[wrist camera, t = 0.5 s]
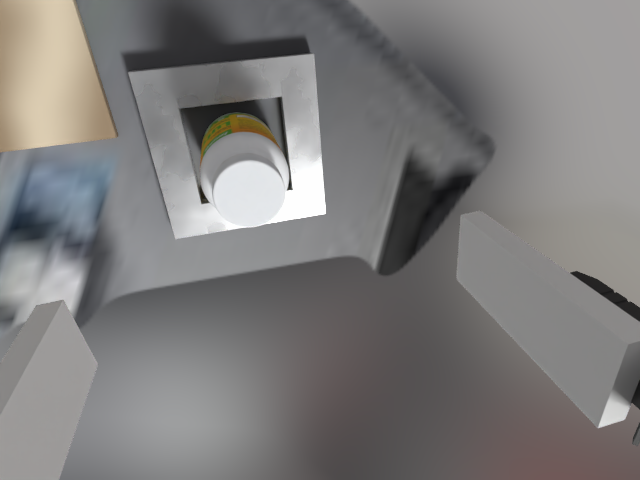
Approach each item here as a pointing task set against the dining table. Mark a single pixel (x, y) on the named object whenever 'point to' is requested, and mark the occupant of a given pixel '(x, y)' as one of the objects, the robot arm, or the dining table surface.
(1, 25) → the oak pad
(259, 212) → the supplement bottle
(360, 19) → the dining table surface
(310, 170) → the grey square frame
